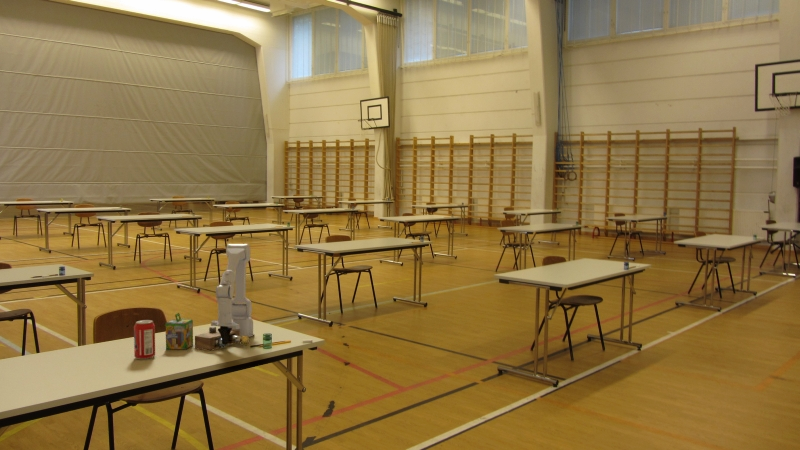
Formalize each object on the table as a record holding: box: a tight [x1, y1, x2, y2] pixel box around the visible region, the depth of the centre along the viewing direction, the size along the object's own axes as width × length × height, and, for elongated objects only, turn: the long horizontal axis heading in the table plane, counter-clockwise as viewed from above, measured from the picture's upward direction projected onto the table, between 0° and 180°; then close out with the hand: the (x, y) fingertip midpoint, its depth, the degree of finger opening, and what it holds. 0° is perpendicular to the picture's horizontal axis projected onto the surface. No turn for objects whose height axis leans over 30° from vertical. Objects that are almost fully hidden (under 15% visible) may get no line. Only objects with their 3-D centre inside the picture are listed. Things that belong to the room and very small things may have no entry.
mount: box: [194, 329, 240, 351], centre depth 270 cm, size 18×9×5 cm, turn 152°
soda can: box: [133, 319, 156, 361], centre depth 248 cm, size 8×8×15 cm
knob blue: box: [215, 338, 227, 348], centre depth 266 cm, size 4×11×4 cm, turn 62°
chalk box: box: [164, 312, 194, 350], centre depth 266 cm, size 9×9×15 cm
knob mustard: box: [228, 335, 250, 346], centre depth 270 cm, size 4×11×4 cm, turn 62°
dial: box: [208, 326, 217, 333], centre depth 271 cm, size 3×3×2 cm
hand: (225, 343), depth 263 cm, fingers closed
